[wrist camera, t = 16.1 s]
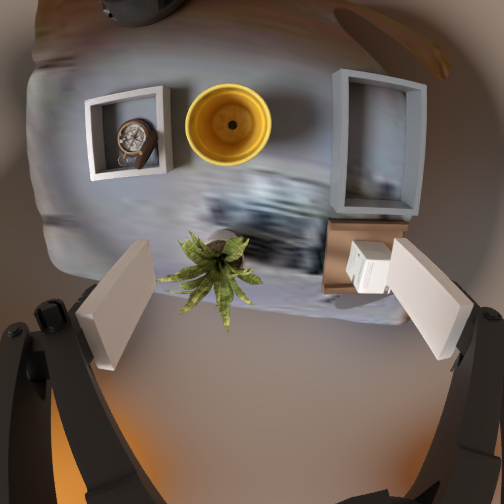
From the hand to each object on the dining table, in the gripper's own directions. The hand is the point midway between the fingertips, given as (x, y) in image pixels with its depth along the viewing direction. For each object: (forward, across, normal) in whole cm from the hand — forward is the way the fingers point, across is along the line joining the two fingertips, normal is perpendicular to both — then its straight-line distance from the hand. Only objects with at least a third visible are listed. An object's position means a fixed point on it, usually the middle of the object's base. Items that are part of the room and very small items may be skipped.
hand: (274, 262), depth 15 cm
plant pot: (+32, -4, +7) cm, 33 cm away
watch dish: (+32, -20, +7) cm, 38 cm away
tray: (+32, +18, -14) cm, 39 cm away
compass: (+32, -20, +5) cm, 38 cm away
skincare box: (+31, +18, -14) cm, 39 cm away
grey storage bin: (+32, +18, +5) cm, 37 cm away
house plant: (+32, -6, -11) cm, 34 cm away
